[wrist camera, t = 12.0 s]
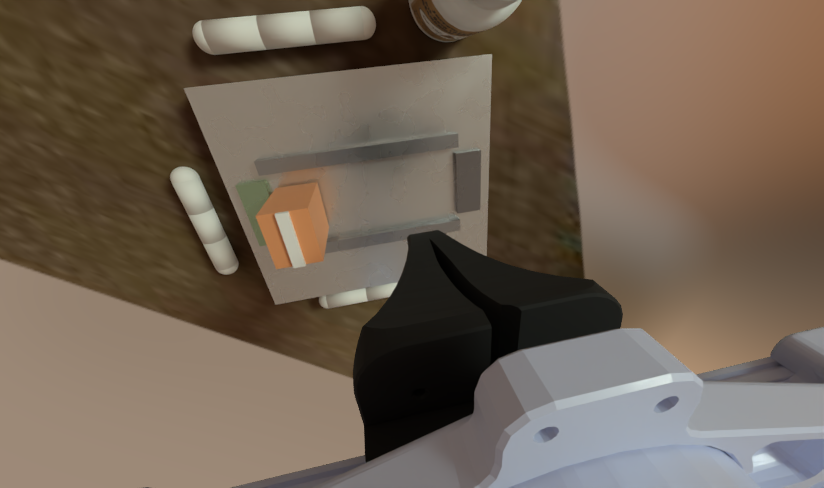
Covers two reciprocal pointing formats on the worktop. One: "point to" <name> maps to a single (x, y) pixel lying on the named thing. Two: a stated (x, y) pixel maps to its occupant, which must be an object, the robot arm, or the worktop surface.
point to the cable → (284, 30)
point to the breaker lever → (294, 225)
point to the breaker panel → (357, 162)
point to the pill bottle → (459, 16)
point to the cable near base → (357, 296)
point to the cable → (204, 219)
